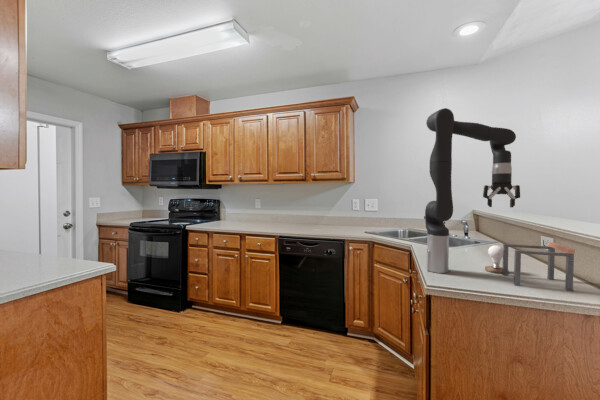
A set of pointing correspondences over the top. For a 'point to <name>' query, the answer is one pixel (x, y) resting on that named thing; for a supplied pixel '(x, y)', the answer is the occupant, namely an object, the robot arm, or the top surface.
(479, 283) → the top surface
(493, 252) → the lightbulb
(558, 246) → the bar
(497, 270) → the pad
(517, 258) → the frame
